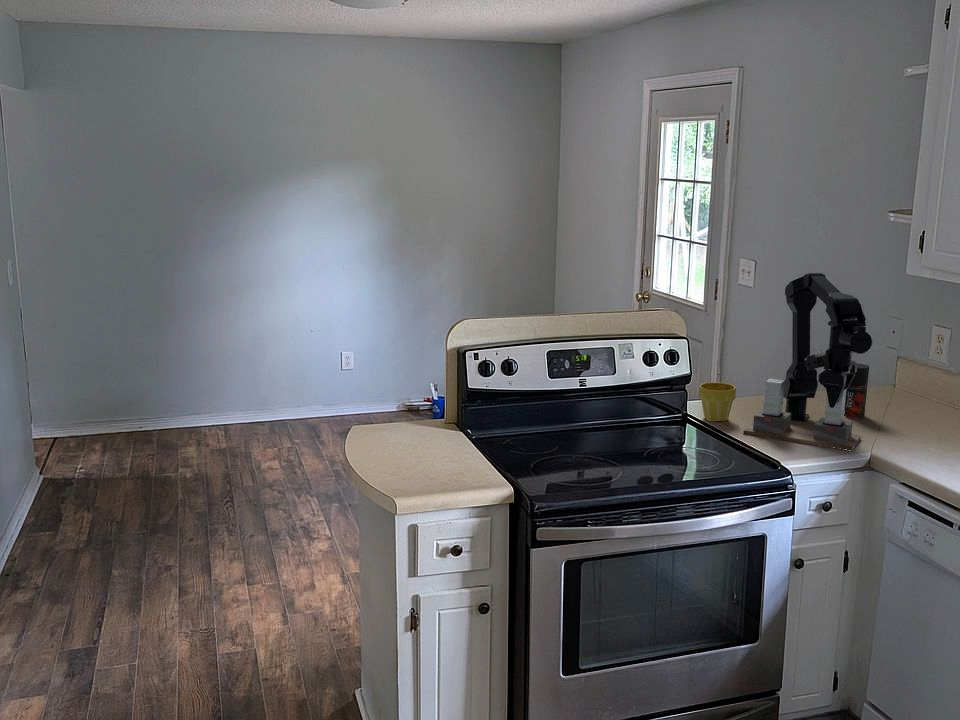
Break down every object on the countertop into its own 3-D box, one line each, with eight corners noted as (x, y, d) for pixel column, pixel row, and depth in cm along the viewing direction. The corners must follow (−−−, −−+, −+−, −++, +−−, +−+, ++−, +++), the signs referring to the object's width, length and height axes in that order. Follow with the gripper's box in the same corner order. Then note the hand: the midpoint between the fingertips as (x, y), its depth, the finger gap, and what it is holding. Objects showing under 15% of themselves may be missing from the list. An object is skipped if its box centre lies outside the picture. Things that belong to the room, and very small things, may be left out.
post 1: (767, 410, 257) (769, 378, 254) (782, 412, 254) (785, 380, 252) (763, 414, 253) (765, 381, 251) (778, 416, 251) (781, 383, 249)
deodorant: (866, 414, 271) (871, 365, 268) (862, 419, 267) (867, 369, 263) (845, 411, 275) (849, 362, 271) (840, 416, 270) (845, 366, 266)
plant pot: (690, 418, 267) (692, 386, 265) (709, 411, 274) (711, 379, 272) (721, 426, 260) (723, 392, 258) (741, 419, 267) (743, 386, 265)
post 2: (827, 419, 248) (830, 386, 246) (843, 421, 246) (846, 388, 244) (823, 423, 245) (826, 389, 243) (840, 425, 243) (843, 391, 241)
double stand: (755, 423, 263) (757, 406, 262) (860, 439, 248) (861, 421, 247) (743, 433, 253) (744, 416, 252) (851, 451, 239) (853, 432, 237)
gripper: (816, 336, 253) (812, 391, 256) (800, 348, 237) (795, 407, 241) (860, 340, 247) (854, 397, 250) (845, 353, 231) (840, 413, 235)
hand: (835, 403), depth 244 cm, fingers open, 9 cm apart
